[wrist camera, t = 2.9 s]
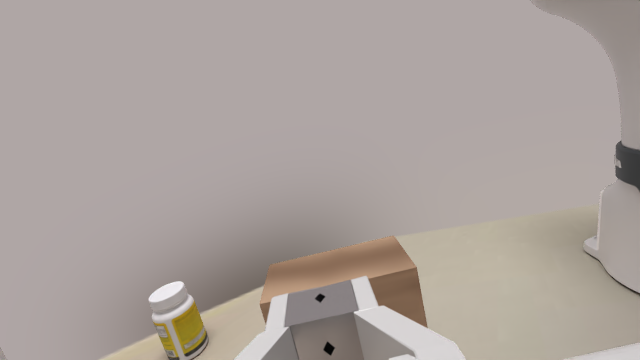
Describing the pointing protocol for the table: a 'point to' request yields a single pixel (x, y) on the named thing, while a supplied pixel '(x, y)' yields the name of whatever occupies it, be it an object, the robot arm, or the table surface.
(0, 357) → the travel mug
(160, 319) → the supplement bottle
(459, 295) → the table surface
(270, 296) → the walnut block
